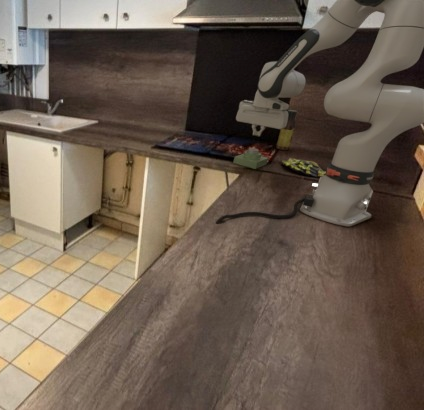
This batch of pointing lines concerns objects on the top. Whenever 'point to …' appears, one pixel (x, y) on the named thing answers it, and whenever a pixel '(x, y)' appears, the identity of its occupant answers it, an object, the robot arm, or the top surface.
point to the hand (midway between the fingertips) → (256, 135)
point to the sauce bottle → (287, 132)
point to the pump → (253, 151)
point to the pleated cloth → (304, 167)
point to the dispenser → (251, 160)
